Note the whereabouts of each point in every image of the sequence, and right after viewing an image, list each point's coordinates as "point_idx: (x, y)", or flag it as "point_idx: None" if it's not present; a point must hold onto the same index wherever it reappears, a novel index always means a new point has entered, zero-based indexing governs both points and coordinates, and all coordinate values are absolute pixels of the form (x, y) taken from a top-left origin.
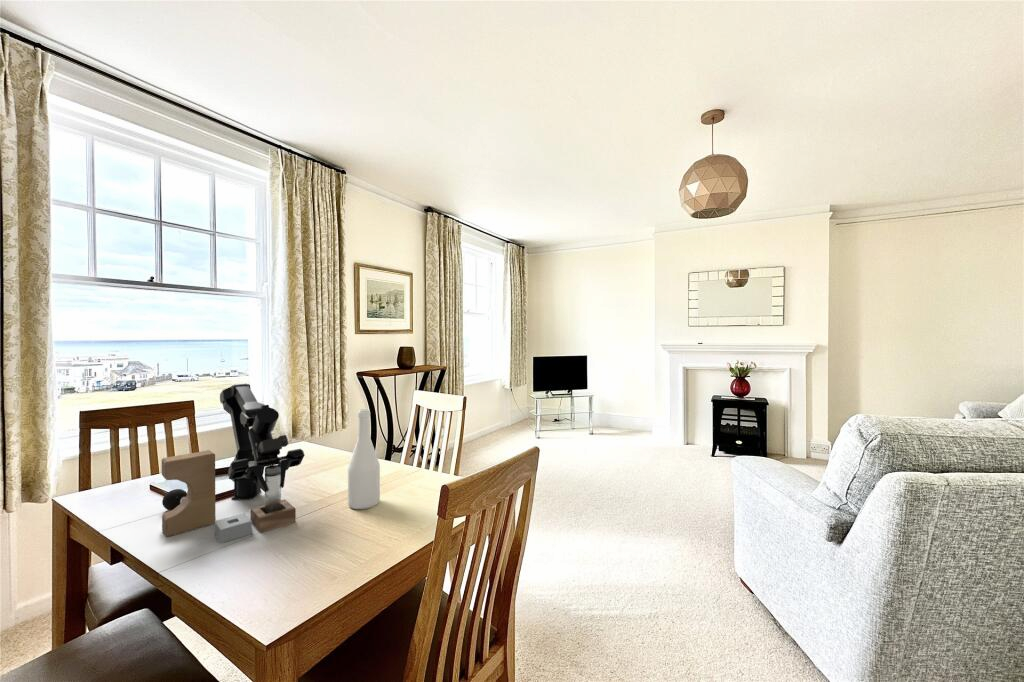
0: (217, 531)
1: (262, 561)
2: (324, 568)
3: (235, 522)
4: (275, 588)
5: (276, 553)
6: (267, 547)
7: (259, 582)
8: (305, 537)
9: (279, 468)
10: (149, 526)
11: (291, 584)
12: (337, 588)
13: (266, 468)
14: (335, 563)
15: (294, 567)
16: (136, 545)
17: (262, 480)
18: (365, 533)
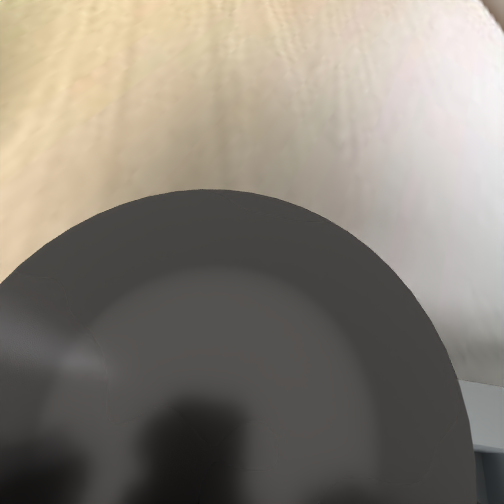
0: None
1: (397, 144)
2: (291, 27)
3: (487, 438)
4: (404, 38)
5: (349, 154)
6: (357, 208)
7: (428, 73)
8: (230, 174)
9: (119, 222)
10: None
11: (373, 29)
12: None
13: (418, 450)
14: (262, 26)
15: (340, 69)
16: None
17: None
18: (104, 70)
